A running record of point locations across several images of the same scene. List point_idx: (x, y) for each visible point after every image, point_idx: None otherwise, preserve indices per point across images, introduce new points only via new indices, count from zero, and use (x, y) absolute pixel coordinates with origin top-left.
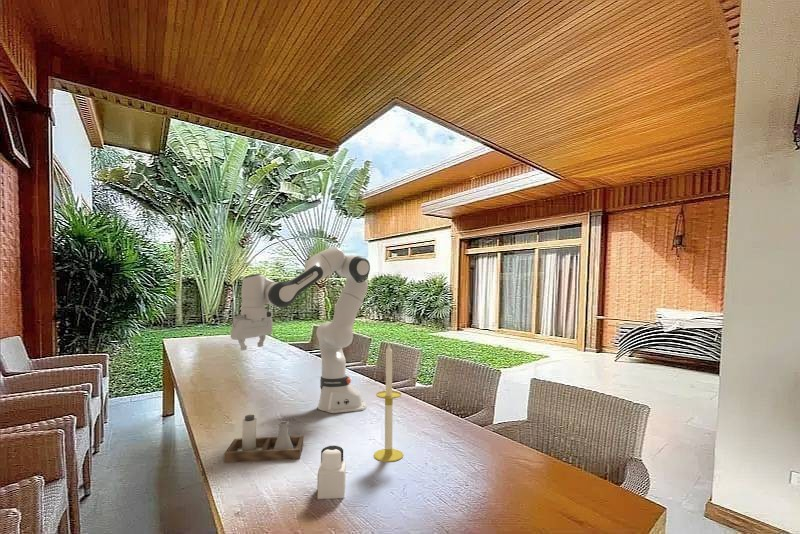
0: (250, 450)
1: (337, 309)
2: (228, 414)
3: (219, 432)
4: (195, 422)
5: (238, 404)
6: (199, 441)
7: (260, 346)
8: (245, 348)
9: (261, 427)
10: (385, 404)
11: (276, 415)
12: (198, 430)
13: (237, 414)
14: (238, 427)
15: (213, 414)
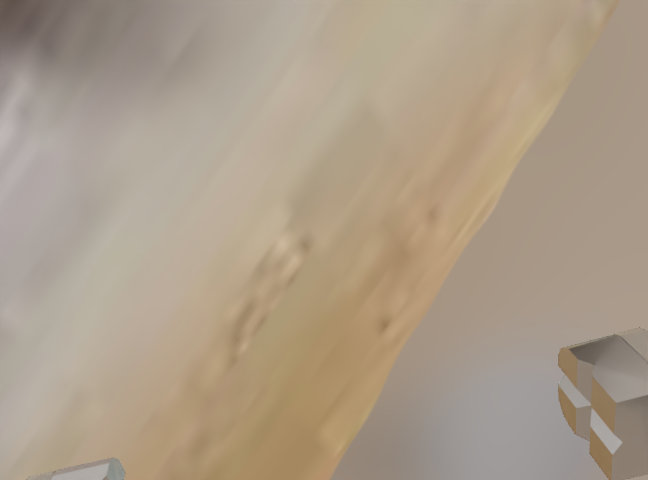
0: None
1: None
2: (215, 356)
3: (414, 149)
4: (383, 363)
5: (81, 459)
6: (543, 115)
7: (113, 463)
8: (617, 349)
9: (226, 15)
10: None
11: (21, 131)
12: (446, 256)
13: (182, 324)
14: (309, 134)
15: (263, 406)
